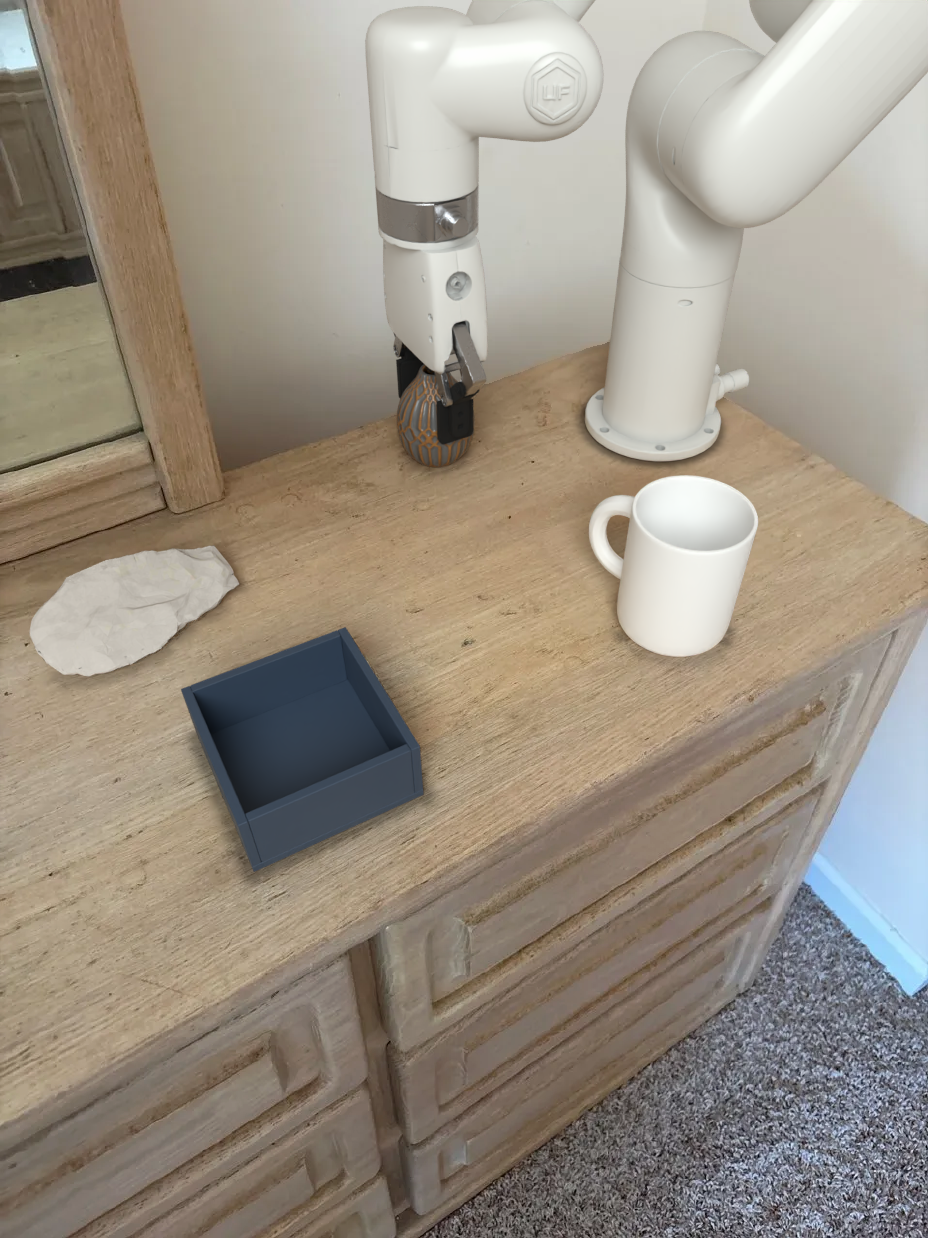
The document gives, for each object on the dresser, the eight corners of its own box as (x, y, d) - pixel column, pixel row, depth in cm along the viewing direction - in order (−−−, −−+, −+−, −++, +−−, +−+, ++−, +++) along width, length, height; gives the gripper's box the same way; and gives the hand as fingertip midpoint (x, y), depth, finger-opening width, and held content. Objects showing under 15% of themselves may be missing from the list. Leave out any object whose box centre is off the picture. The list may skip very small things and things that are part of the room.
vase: (415, 485, 79) (410, 397, 73) (388, 443, 84) (381, 358, 77) (487, 465, 81) (487, 379, 75) (456, 426, 86) (455, 341, 79)
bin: (353, 676, 64) (345, 626, 60) (423, 795, 57) (420, 746, 53) (198, 738, 60) (180, 688, 56) (253, 872, 53) (237, 826, 49)
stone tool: (70, 711, 64) (257, 616, 70) (61, 694, 61) (257, 596, 67) (16, 616, 66) (202, 532, 72) (5, 596, 63) (199, 510, 69)
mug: (553, 601, 69) (562, 493, 62) (615, 547, 73) (631, 440, 66) (689, 679, 63) (717, 571, 56) (748, 616, 68) (781, 507, 60)
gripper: (532, 242, 63) (522, 455, 75) (420, 163, 73) (428, 361, 86) (436, 265, 60) (442, 481, 73) (335, 180, 71) (356, 382, 84)
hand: (435, 415), depth 79 cm, fingers closed on vase, 6 cm apart
